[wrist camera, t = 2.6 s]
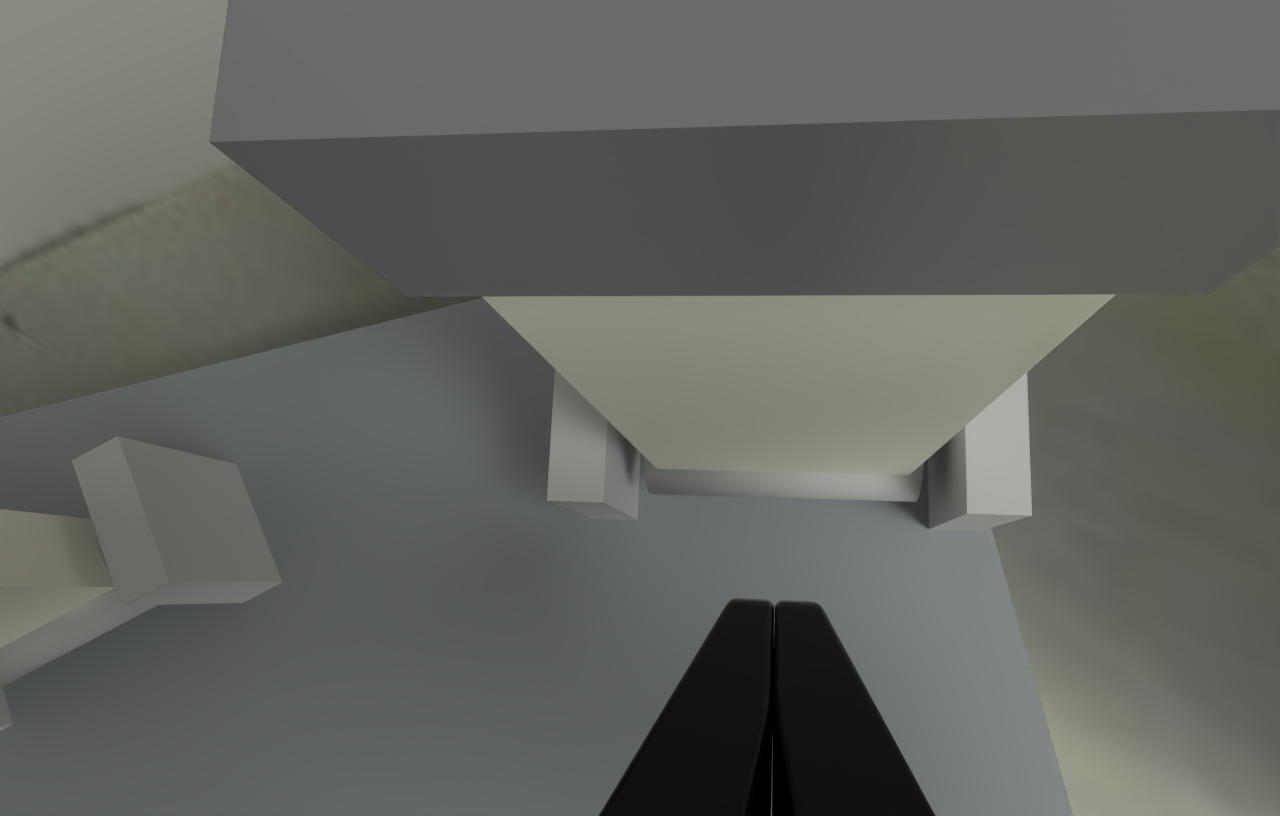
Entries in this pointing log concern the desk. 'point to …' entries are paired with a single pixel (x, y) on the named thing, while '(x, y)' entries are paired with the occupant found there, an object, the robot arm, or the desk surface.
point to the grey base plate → (471, 591)
